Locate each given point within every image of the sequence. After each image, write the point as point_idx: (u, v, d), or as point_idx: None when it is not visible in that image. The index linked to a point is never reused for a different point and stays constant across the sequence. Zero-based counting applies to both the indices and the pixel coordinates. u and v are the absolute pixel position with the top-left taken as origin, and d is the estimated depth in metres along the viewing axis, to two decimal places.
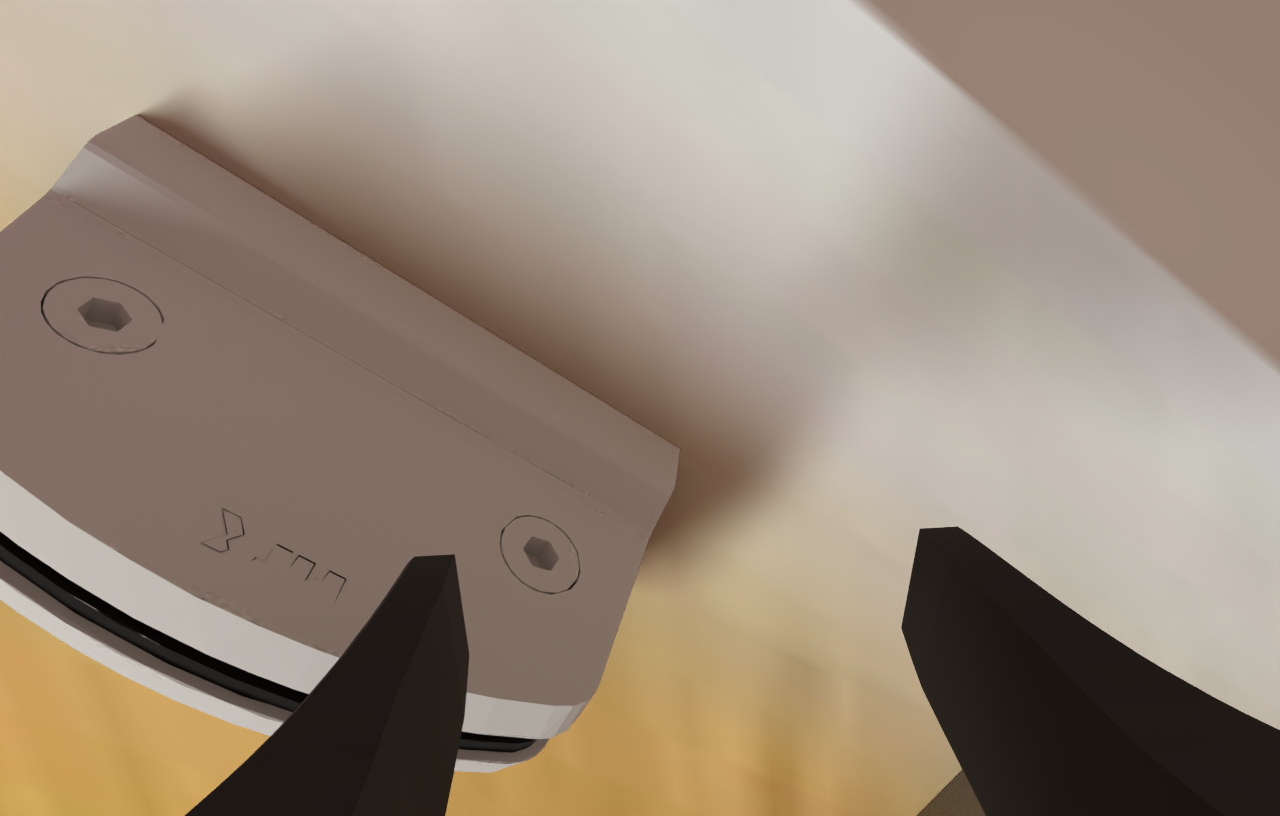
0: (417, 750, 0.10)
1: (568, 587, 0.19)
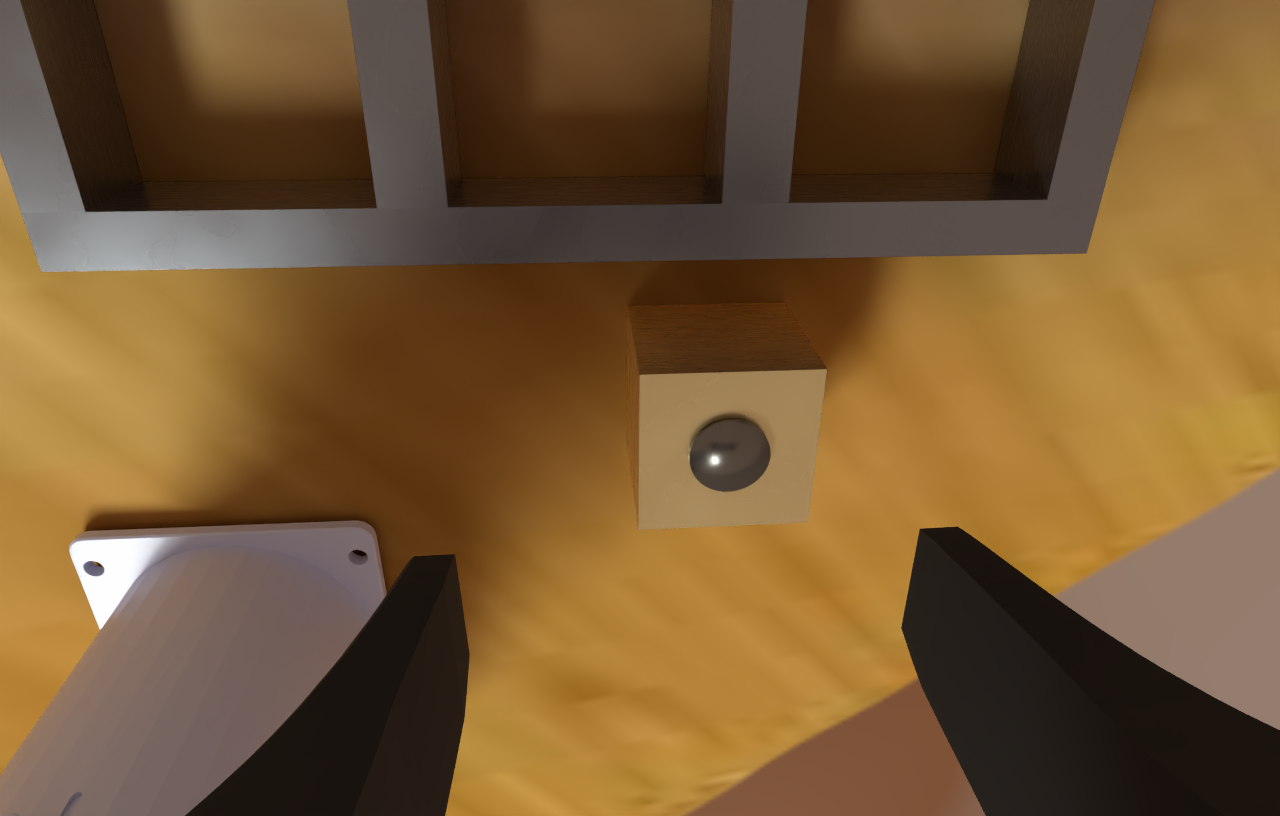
0: (417, 750, 0.10)
1: None
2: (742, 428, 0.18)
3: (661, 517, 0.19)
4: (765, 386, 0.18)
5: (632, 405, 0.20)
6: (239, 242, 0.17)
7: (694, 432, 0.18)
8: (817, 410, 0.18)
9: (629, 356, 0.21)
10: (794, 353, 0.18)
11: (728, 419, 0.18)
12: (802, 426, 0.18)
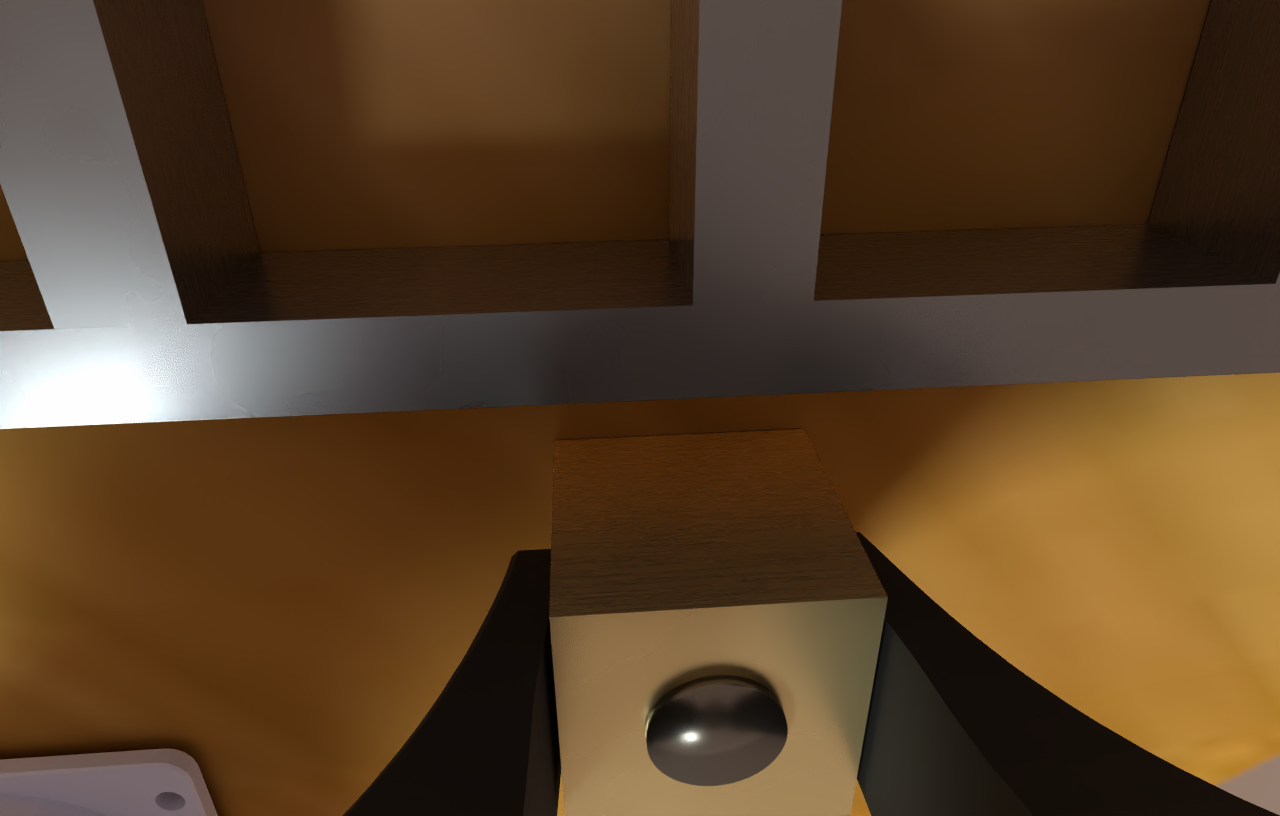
0: (545, 741, 0.10)
1: None
2: (737, 694, 0.10)
3: None
4: (777, 626, 0.10)
5: None
6: None
7: (652, 699, 0.10)
8: (868, 659, 0.10)
9: None
10: (826, 555, 0.11)
11: (712, 679, 0.10)
12: (842, 683, 0.11)
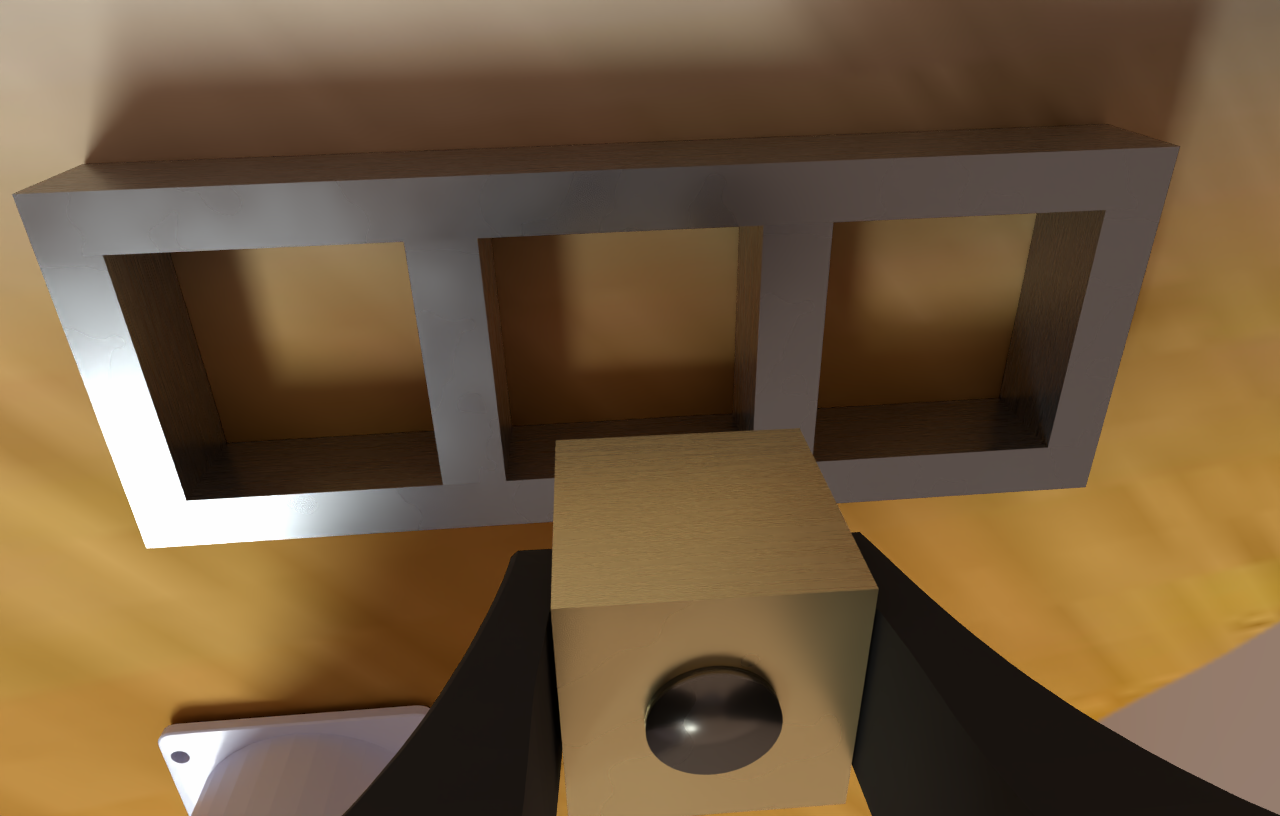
0: (544, 741, 0.10)
1: None
2: (733, 684, 0.11)
3: (605, 808, 0.12)
4: (771, 617, 0.10)
5: None
6: (321, 517, 0.19)
7: (650, 689, 0.11)
8: (861, 650, 0.11)
9: None
10: (819, 549, 0.11)
11: (709, 670, 0.11)
12: (836, 673, 0.11)
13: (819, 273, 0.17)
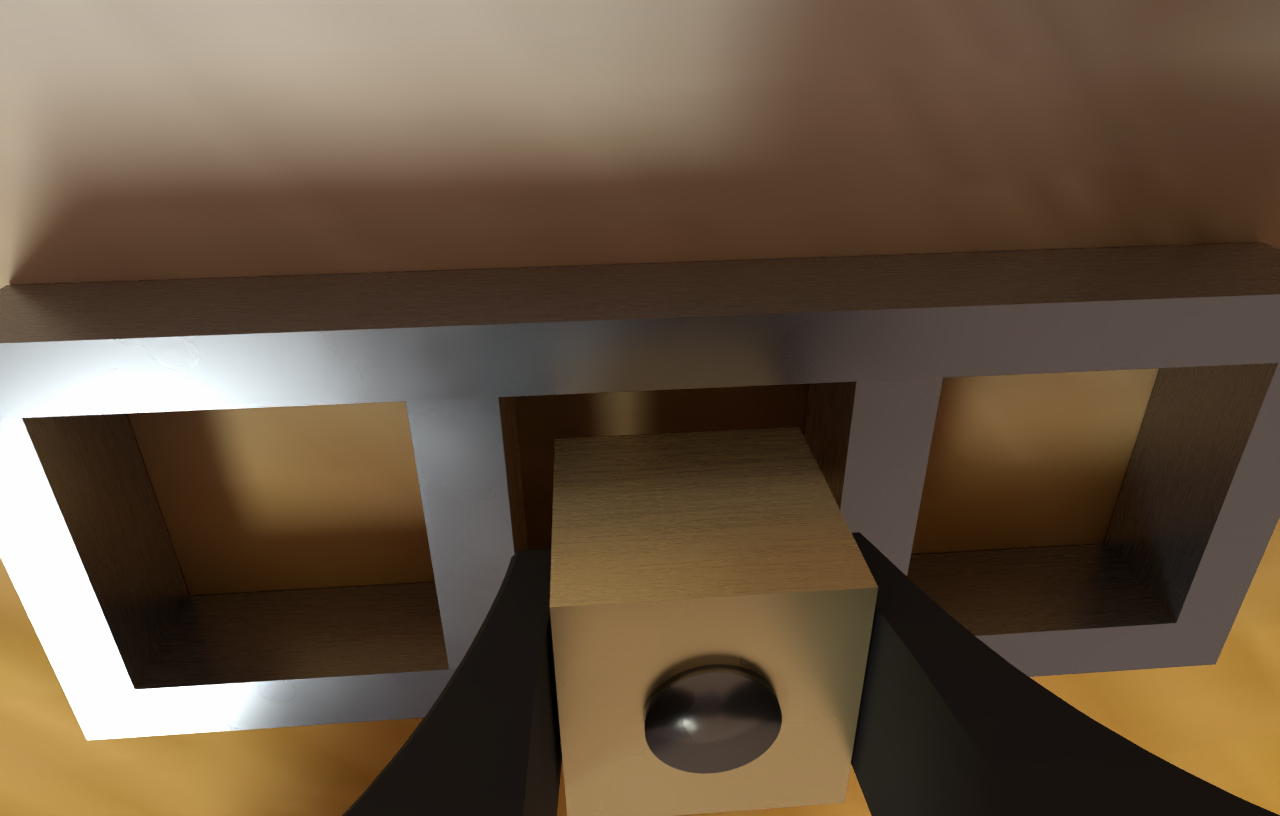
0: (545, 741, 0.10)
1: None
2: (732, 683, 0.11)
3: (603, 806, 0.12)
4: (770, 616, 0.10)
5: None
6: (300, 705, 0.16)
7: (650, 687, 0.11)
8: (860, 649, 0.11)
9: None
10: (818, 548, 0.11)
11: (708, 668, 0.11)
12: (835, 672, 0.11)
13: (921, 435, 0.14)
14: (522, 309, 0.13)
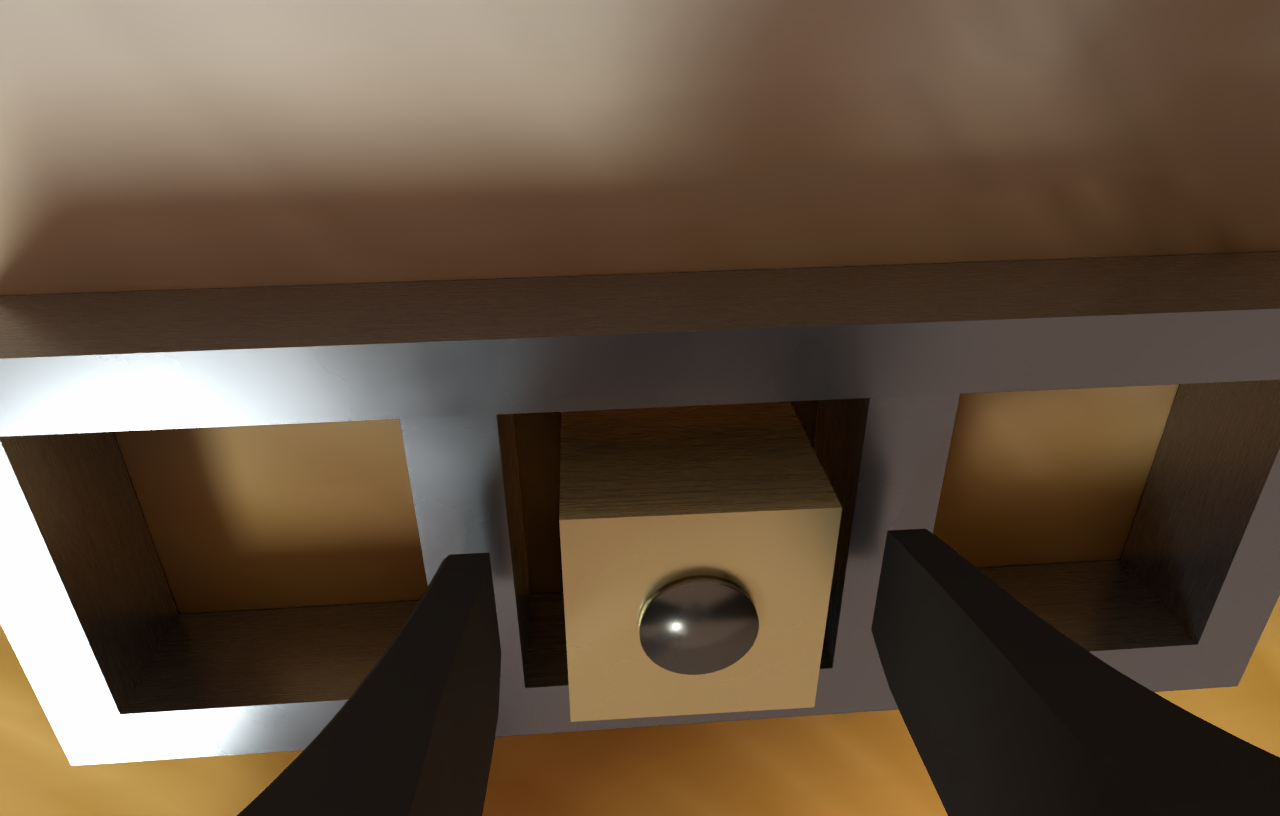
0: (460, 747, 0.10)
1: None
2: (716, 591, 0.12)
3: (603, 706, 0.13)
4: (749, 532, 0.12)
5: None
6: (291, 729, 0.15)
7: (645, 595, 0.12)
8: (827, 564, 0.12)
9: None
10: (792, 477, 0.13)
11: (695, 578, 0.12)
12: (805, 585, 0.12)
13: (936, 453, 0.13)
14: (521, 323, 0.12)
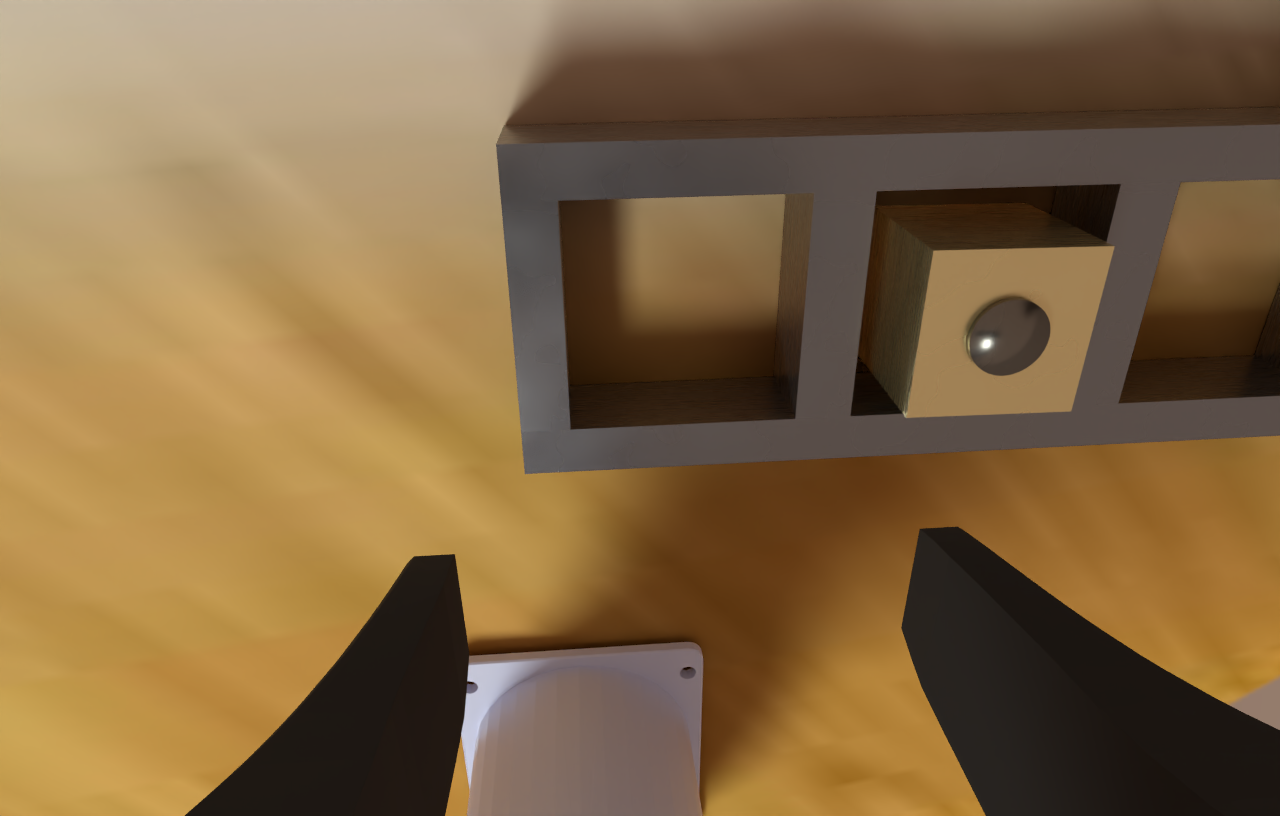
0: (417, 750, 0.10)
1: None
2: (1025, 308, 0.18)
3: (929, 405, 0.19)
4: (1052, 264, 0.18)
5: (889, 299, 0.20)
6: (682, 447, 0.21)
7: (976, 313, 0.18)
8: (1098, 290, 0.18)
9: (879, 254, 0.21)
10: (1070, 236, 0.19)
11: (1012, 298, 0.18)
12: (1081, 307, 0.19)
13: (1159, 228, 0.19)
14: (894, 129, 0.18)
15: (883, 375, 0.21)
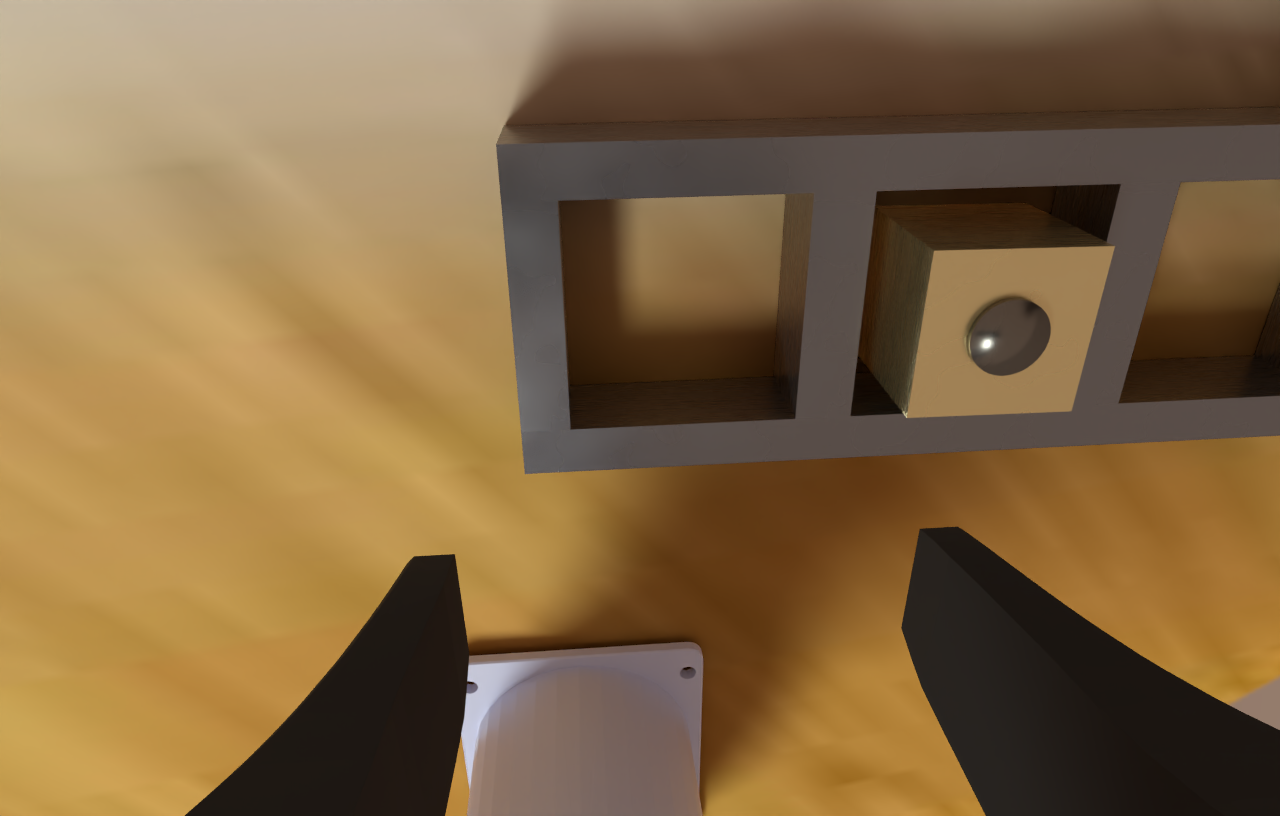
0: (417, 750, 0.10)
1: None
2: (1026, 307, 0.18)
3: (930, 404, 0.19)
4: (1053, 263, 0.18)
5: (889, 299, 0.20)
6: (682, 447, 0.21)
7: (976, 313, 0.18)
8: (1098, 290, 0.18)
9: (879, 254, 0.21)
10: (1071, 236, 0.19)
11: (1012, 298, 0.18)
12: (1081, 307, 0.19)
13: (1159, 228, 0.19)
14: (894, 129, 0.18)
15: (883, 375, 0.21)
